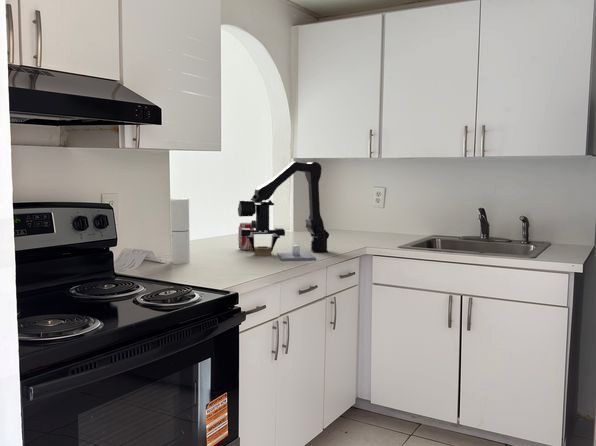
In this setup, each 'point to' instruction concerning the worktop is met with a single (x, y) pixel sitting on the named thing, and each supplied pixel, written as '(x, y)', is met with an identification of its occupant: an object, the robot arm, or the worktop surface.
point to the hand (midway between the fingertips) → (262, 252)
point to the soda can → (244, 237)
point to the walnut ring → (262, 251)
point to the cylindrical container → (179, 230)
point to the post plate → (296, 255)
